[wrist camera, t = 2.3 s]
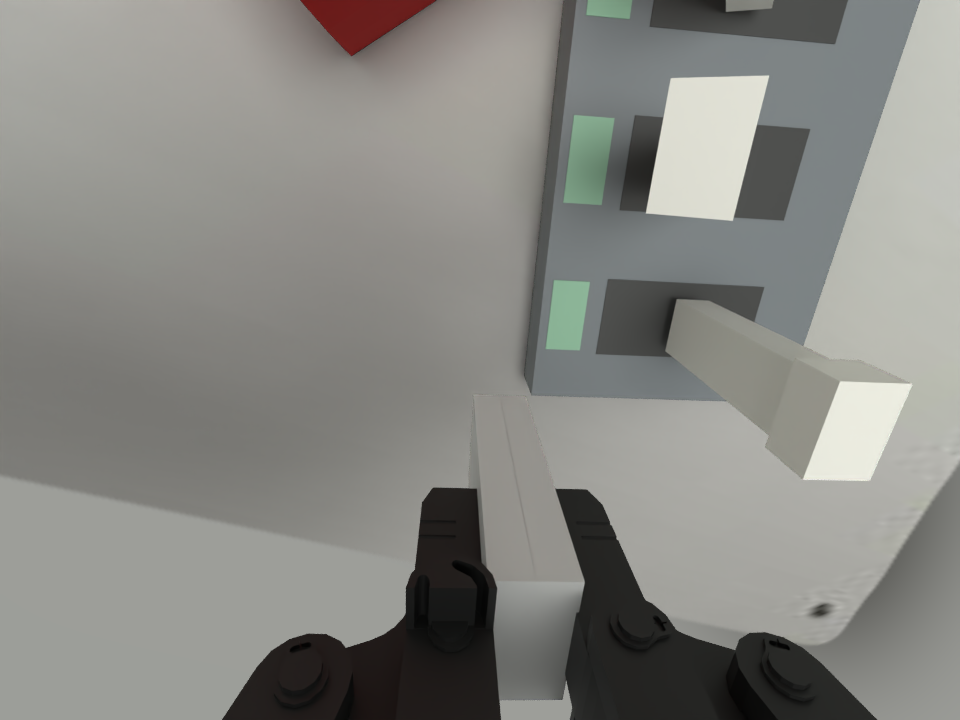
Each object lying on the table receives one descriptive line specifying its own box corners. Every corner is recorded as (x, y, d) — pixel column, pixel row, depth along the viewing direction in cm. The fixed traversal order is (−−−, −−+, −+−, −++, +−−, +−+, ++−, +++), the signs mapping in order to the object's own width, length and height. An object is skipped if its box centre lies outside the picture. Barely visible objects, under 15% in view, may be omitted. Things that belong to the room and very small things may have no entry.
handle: (678, 206, 24) (645, 213, 14) (694, 128, 22) (670, 78, 13) (729, 210, 23) (732, 220, 13) (749, 129, 22) (769, 75, 12)
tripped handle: (658, 355, 26) (803, 479, 15) (672, 293, 25) (840, 381, 14) (699, 357, 26) (869, 480, 16) (715, 295, 25) (912, 383, 14)
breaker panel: (524, 375, 30) (531, 395, 28) (579, -150, 21) (599, -201, 18) (754, 383, 32) (784, 403, 29) (905, -110, 22) (972, -152, 19)
